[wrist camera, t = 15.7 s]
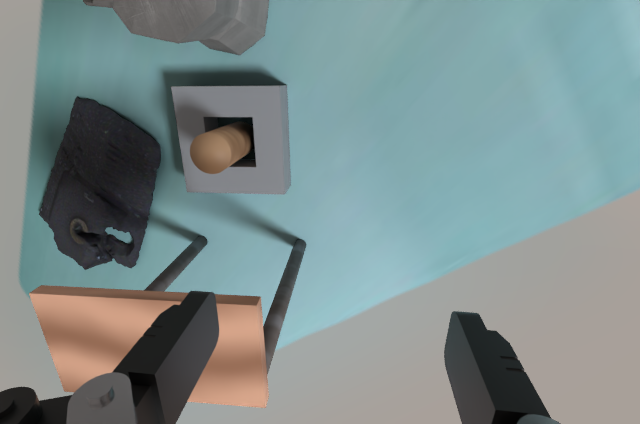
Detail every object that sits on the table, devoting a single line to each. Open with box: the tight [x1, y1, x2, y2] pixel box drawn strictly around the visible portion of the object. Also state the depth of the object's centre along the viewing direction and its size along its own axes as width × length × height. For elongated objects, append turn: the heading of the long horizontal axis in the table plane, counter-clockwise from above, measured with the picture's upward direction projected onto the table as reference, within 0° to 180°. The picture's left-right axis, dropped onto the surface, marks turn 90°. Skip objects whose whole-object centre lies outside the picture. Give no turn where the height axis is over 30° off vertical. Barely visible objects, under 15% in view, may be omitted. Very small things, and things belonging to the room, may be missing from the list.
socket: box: [171, 85, 291, 194], centre depth 41 cm, size 12×12×4 cm
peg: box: [190, 121, 255, 174], centre depth 38 cm, size 4×4×10 cm
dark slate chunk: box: [39, 97, 161, 270], centre depth 45 cm, size 15×22×5 cm
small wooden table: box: [29, 236, 306, 408], centre depth 36 cm, size 9×16×24 cm, turn 90°
